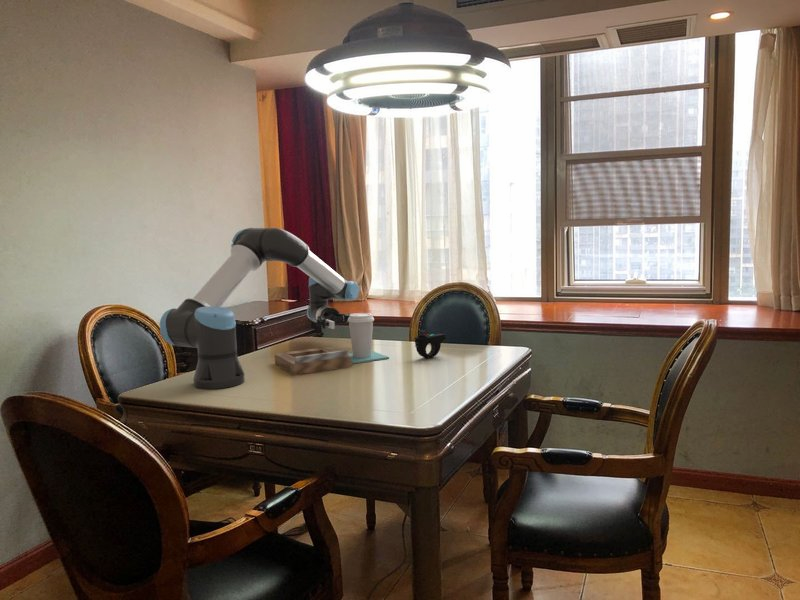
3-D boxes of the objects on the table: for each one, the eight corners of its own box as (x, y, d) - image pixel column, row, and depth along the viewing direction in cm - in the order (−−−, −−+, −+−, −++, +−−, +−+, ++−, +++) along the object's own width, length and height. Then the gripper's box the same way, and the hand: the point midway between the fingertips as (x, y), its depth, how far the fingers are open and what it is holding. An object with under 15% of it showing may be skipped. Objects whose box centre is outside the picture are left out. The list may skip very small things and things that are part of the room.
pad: (352, 364, 218) (352, 362, 218) (336, 356, 230) (336, 355, 230) (388, 358, 225) (388, 357, 225) (371, 352, 237) (371, 350, 237)
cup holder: (294, 375, 205) (293, 358, 204) (275, 363, 222) (274, 348, 222) (351, 366, 215) (350, 350, 214) (328, 356, 232) (327, 341, 231)
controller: (413, 359, 223) (412, 330, 222) (440, 353, 230) (440, 326, 229) (420, 361, 220) (419, 332, 219) (448, 355, 227) (447, 328, 225)
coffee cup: (343, 356, 229) (342, 314, 227) (365, 352, 234) (364, 311, 232) (358, 360, 221) (356, 317, 219) (380, 356, 227) (379, 314, 225)
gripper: (357, 322, 259) (381, 329, 241) (299, 329, 247) (319, 337, 229) (356, 304, 258) (380, 310, 240) (298, 310, 246) (318, 316, 228)
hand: (350, 323), depth 234 cm, fingers open, 13 cm apart
